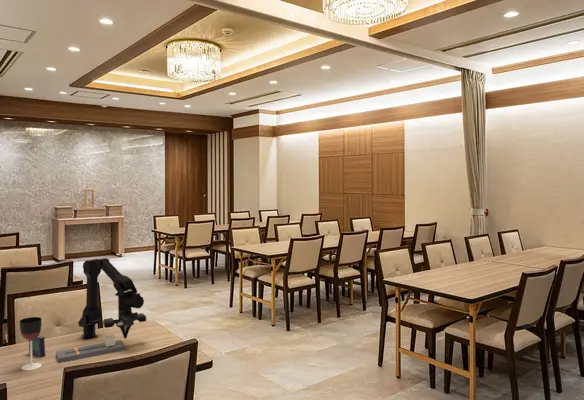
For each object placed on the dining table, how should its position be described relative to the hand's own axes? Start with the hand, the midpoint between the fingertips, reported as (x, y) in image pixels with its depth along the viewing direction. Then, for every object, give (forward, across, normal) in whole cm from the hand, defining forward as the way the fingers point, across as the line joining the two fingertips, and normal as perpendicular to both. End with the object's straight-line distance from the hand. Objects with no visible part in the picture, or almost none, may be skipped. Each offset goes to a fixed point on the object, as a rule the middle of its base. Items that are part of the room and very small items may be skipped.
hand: (125, 338), depth 215 cm
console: (+4, -15, 0) cm, 16 cm away
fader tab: (+2, -7, 0) cm, 7 cm away
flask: (+4, -36, +11) cm, 38 cm away
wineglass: (+4, -39, -3) cm, 39 cm away
